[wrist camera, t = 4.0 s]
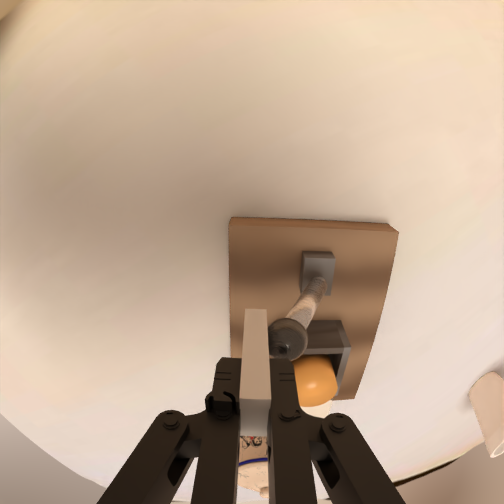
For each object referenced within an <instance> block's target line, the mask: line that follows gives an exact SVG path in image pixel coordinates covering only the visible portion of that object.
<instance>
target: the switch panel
mask: <svg viewBox="0 0 504 504" xmlns="http://www.w3.org/2000/svg"><path fill="white" fill-rule="evenodd" d="M398 234H399V232H398V231H397V230H395V229H394V228H393V227H391V226H390V225H389V224H382V223H366V222H349V221H329V220H307V219H280V218H244V217H232V218H231V221H230V223H229V296H230V338H231V358H242V350H243V335H244V320H245V309H266V311H267V327H268V326H269V325H270V324H271V323H272V322H274V321H275V320H277V319H280V318H285V317H286V316H287V315H288V313H289V312H290V310H291V309H292V307H293V306H294V304H295V303H296V301H297V300H298V298H299V297H300V295H301V294H302V292H303V291H304V289H305V288H306V286H307V285H308V283H309V282H310V280H311V279H312V278H314V277H322V278H324V279H325V280H326V282H327V290H326V292H325V294H324V296H323V298H322V300H321V302H320V304H319V306H318V308H317V310H316V312H315V314H314V316H313V318H312V319H311V321H310V323H309V325H308V327H307V329H306V331H307V334H308V345H307V348H306V350H305V352H304V353H303V354H327V355H328V356H329V358H330V360H331V363H332V367H333V370H334V374H335V378H336V382H337V386H338V389H337V392H336V394H335V396H334V397H333V400H346V399H354V398H355V395H356V393H357V390H358V387H359V385H360V382H361V379H362V376H363V373H364V370H365V367H366V364H367V361H368V358H369V355H370V352H371V349H372V345H373V342H374V339H375V335H376V332H377V328H378V325H379V321H380V317H381V314H382V310H383V306H384V302H385V298H386V294H387V289H388V285H389V281H390V276H391V271H392V267H393V262H394V257H395V251H396V246H397V240H398ZM269 358H272V357H271V356H270V355H269Z"/></svg>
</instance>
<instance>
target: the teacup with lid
mask: <svg viewBox="0 0 504 504" xmlns="http://www.w3.org/2000/svg"><path fill="white" fill-rule="evenodd" d="M267 444H268V442H267V436H240V453H239V468H238V483H237V484H238V485H239V486H241V487H244V488H247V489H251V490H254V491H257V492H260V496H261V497H263V498H269V486H268V456H267V455H266V452H267Z"/></svg>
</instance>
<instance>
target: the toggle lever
mask: <svg viewBox="0 0 504 504" xmlns="http://www.w3.org/2000/svg"><path fill="white" fill-rule="evenodd" d="M326 290H327V282H326V280H325V279H324V278H322V277H314V278H312V279H311V280H310V282H309V283H308V285H307V286H306V288H305V289H304V291H303V292H302V294H301V295H300V297H299V298H298V300H297V301H296V303H295V304H294V306H293V307H292V309H291V310H290V312H289V313H288V315H287V316H286V317H285V318H280V319H277V320H275V321H274V322H272V323H271V324H270V325H269V326H268V327H267V329H268V346H269V355H270V356H271V357H272V358H288V359H289V360H290V361H293V360H296V359H297V358H299V357H300V356H301V355H302V354H303V353H304V352H305V350H306V348H307V345H308V334H307V331H306V329H307V327H308V325H309V323H310V321H311V319H312V318H313V316H314V314H315V312H316V310H317V308H318V306H319V304H320V302H321V300H322V298H323V296H324V294H325V292H326Z"/></svg>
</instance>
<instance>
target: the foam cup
mask: <svg viewBox="0 0 504 504" xmlns="http://www.w3.org/2000/svg"><path fill="white" fill-rule="evenodd" d="M468 396H469V399H470V401H471V404H472V406H473V409H474V411H475V414H476V417H477V419H478V422H479V425H480V428H481V431H482V433H483V436H484V439H485V442H486V445H485V446H486V448H487V450H488V452H489V454H490V456H491V458H493V457H497V456H498V455H500V454H502V453H503V452H504V380H503V379H502V378H501V377H500V376H499V375H498V374H497V373H496V372H493V371H492V372H489V373H487V374H485V375H484V376H482V377H481V378H480V379H479V380H478V381H477V382H476V383H475V384H474V385H473V386H472V388H471V389H470V391H469V394H468Z"/></svg>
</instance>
